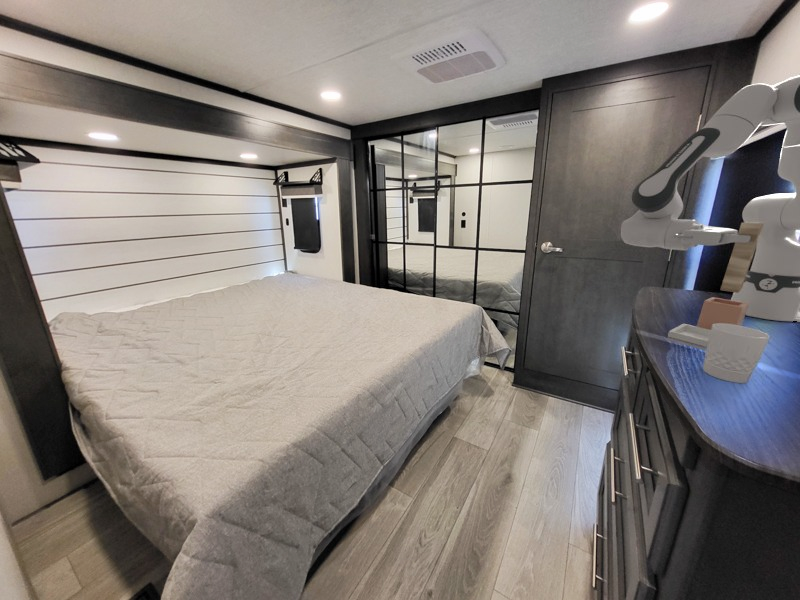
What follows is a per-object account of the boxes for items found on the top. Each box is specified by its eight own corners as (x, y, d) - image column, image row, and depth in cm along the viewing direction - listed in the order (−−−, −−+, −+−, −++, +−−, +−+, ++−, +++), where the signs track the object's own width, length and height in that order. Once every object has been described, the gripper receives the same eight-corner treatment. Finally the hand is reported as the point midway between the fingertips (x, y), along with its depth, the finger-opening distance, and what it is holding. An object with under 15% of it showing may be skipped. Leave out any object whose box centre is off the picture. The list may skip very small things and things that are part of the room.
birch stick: (723, 288, 86) (744, 222, 81) (741, 291, 83) (764, 223, 78) (720, 290, 84) (741, 222, 79) (737, 292, 82) (761, 223, 76)
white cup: (764, 387, 59) (783, 339, 57) (716, 382, 61) (732, 335, 58) (731, 368, 67) (746, 325, 64) (689, 363, 68) (702, 321, 66)
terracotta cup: (703, 325, 92) (712, 297, 90) (738, 334, 86) (749, 303, 84) (695, 330, 88) (704, 300, 86) (731, 339, 82) (742, 307, 80)
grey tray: (681, 331, 87) (683, 323, 86) (736, 345, 78) (739, 336, 78) (666, 339, 81) (669, 331, 81) (724, 355, 72) (727, 346, 72)
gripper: (673, 224, 84) (746, 227, 73) (697, 223, 95) (765, 225, 84) (667, 247, 86) (738, 253, 75) (692, 244, 96) (757, 248, 85)
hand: (752, 238), depth 79 cm, fingers closed on birch stick, 3 cm apart
